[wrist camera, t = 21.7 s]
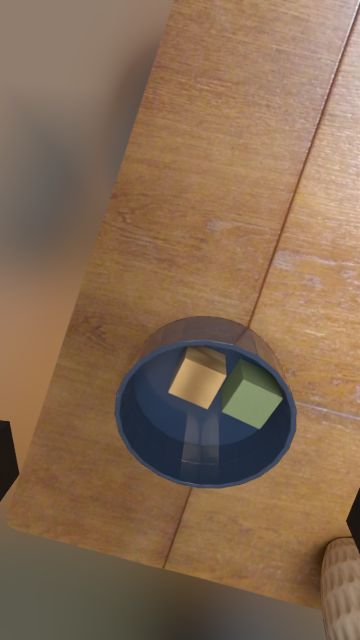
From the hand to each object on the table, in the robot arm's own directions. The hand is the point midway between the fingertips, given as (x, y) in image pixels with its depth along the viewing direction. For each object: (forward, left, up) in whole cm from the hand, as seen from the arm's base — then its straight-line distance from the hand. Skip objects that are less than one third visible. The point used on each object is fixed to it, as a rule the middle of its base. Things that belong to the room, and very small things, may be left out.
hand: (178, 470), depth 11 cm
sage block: (+8, -9, -23) cm, 26 cm away
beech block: (+4, -9, -26) cm, 28 cm away
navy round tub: (+6, -12, -26) cm, 30 cm away
